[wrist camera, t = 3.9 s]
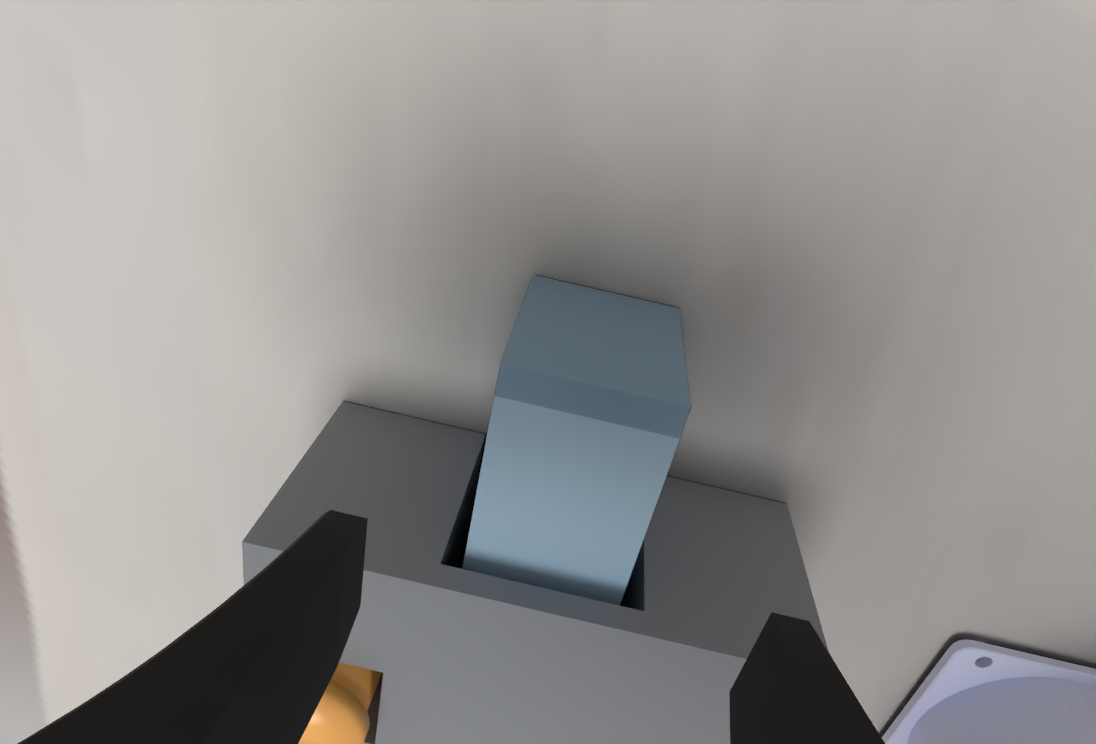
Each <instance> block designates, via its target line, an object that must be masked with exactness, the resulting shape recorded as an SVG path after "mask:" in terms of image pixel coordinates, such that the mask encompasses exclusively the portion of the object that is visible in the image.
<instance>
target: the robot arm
mask: <svg viewBox="0 0 1096 744" xmlns="http://www.w3.org/2000/svg"><path fill="white" fill-rule="evenodd" d="M367 522H368V518H364V517H359V516H355V515H351V514H346V513H342V512H338V511H334V510H329V511H328V512H326V513H324V514H323V515H322V516H321V517H320V518H319V519H317V520H316V521H315V522H314V523H313V524H312V525H311V526H310V527H309V528H308V529H307V530H306V531H305V532H304V533H303V534H302V535H301V536H300V537H299V538H297V539H296V540H295V541H294V542H293V543H292V544H291V545H290V546H289V547H288V548H287V549H286V550H284V551H283V552H282V553H281V554H280V555H279V556H278V557H277V558H275V559H274V560H273V561H272V562H271V563H270V564H269V565H268V566H266V567H265V568H264V569H263V570H262V571H261V572H259V573H258V574H257V575H256V576H255V577H254V578H252V579H251V580H250V581H249V582H248V583H246V584H245V585H244V586H243V587H242V588H240V589H239V590H238V591H237V592H236V593H234V594H233V595H232V596H231V597H230V598H228V599H227V600H226V601H225V602H224V603H222V604H221V605H220V606H219V607H217V608H216V609H215V610H214V611H212V612H211V613H210V614H209V615H207V616H206V617H205V618H203V619H202V620H201V621H199V622H198V623H197V624H195V625H194V626H193V627H191V628H190V629H189V630H188V631H186V632H185V633H184V634H182V635H181V636H180V637H178V638H177V639H176V640H174V641H173V642H172V643H171V644H169V645H168V646H167V647H165V648H164V649H162V650H161V651H160V652H158V653H157V654H156V655H154V656H153V657H151V658H150V659H149V660H147V661H146V662H144V663H143V664H141V665H140V666H139V667H137V668H136V669H134V670H133V671H131V672H130V673H129V674H127V675H126V676H124V677H123V678H121V679H120V680H118V681H117V682H115V683H114V684H112V685H111V686H109V687H108V688H106V689H105V690H103V691H102V692H100V693H99V694H97V695H96V696H94V697H93V698H91V699H89V700H88V701H86V702H85V703H83V704H82V705H80V706H78V707H77V708H75V709H74V710H72V711H70V712H69V713H67V714H65V715H64V716H62V717H61V718H59V719H57V720H56V721H54V722H52V723H51V724H49V725H48V726H46V727H44V728H43V729H41V730H39V731H38V732H36V733H35V734H33V735H31V736H30V737H28V738H26V739H25V740H23V741H21V742H19V743H18V744H298V743H299V741H300V739H301V737H302V735H303V733H304V731H305V729H306V728H307V726H308V724H309V722H310V720H311V718H312V716H313V714H314V712H315V710H316V708H317V706H318V704H319V702H320V700H321V698H322V696H323V694H324V692H325V690H326V688H327V686H328V684H329V682H330V680H331V678H332V676H333V674H334V672H335V670H336V668H337V666H338V663H339V661H340V658H341V656H342V653H343V651H344V648H345V646H346V643H347V640H348V638H349V635H350V633H351V630H352V627H353V625H354V622H355V619H356V617H357V614H358V611H359V609H360V606H361V594H362V582H363V570H364V558H365V546H366V534H367ZM729 694H730V744H1096V669H1094V668H1090V667H1085V666H1081V665H1077V664H1073V663H1068V662H1064V661H1060V660H1055V659H1051V658H1047V657H1042V656H1038V655H1034V654H1029V653H1025V652H1021V651H1017V650H1012V649H1008V648H1004V647H999V646H995V645H991V644H986V643H982V642H978V641H973V640H966V639H964V640H959V641H956V642H954V643H953V644H952V645H951V646H950V647H949V648H948V650H947V651H946V652H945V654H944V655H943V656H942V658H941V659H940V660H939V662H938V663H937V664H936V666H935V667H934V668H933V670H932V671H931V672H930V674H929V675H928V676H927V678H926V679H925V680H924V682H923V683H922V684H921V686H920V687H919V688H918V690H917V691H916V692H915V694H914V695H913V696H912V698H911V699H910V700H909V702H908V703H907V704H906V706H905V707H904V708H903V710H902V711H901V712H900V714H899V715H898V716H897V718H896V719H895V720H894V722H893V723H892V724H891V726H890V727H889V729H888V730H887V731H886V733H885V734H884V735H883V737H882V738H881V736H880V735H879V733H878V732H877V730H876V729H875V727H874V725H873V724H872V722H871V721H870V719H869V717H868V716H867V714H866V713H865V711H864V710H863V708H862V706H861V705H860V703H859V701H858V700H857V698H856V697H855V695H854V693H853V692H852V690H851V688H850V687H849V685H848V684H847V682H846V680H845V679H844V677H843V675H842V674H841V672H840V670H839V669H838V667H837V666H836V664H835V662H834V661H833V659H832V657H831V656H830V654H829V652H828V651H827V649H826V647H825V646H824V644H823V642H822V641H821V639H820V638H819V636H818V634H817V633H816V631H815V629H814V628H813V626H812V625H811V623H810V621H807V620H803V619H799V618H794V617H790V616H786V615H781V614H777V613H773V612H771V614H770V616H769V618H768V620H767V622H766V624H765V625H764V627H763V629H762V631H761V633H760V635H759V637H758V639H757V641H756V643H755V644H754V646H753V648H752V650H751V652H750V654H749V656H748V658H747V660H746V661H745V663H744V665H743V667H742V669H741V671H740V673H739V675H738V677H737V679H736V680H735V682H734V684H733V686H732V688H731V690H730V692H729Z"/></svg>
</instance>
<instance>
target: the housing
mask: <svg viewBox="0 0 1096 744" xmlns="http://www.w3.org/2000/svg"><path fill="white" fill-rule="evenodd" d="M484 439H485V434H483V433H478V432H474V431H470V430H465V429H461V428H457V427H452V426H448V425H444V424H439V423H435V422H431V421H426V420H422V419H418V418H413V417H409V416H405V415H400V414H396V413H392V412H388V411H383V410H379V409H375V408H370V407H366V406H362V405H357V404H353V403H349V402H344V401H343V402H342V404H341V405H340V406H339V408H338V409H337V411H336V412H335V413H334V415H333V416H332V418H331V419H330V420H329V422H328V423H327V424H326V426H325V427H324V429H323V430H322V431H321V433H320V434H319V436H318V437H317V438H316V440H315V441H314V443H313V444H312V445H311V447H310V448H309V449H308V451H307V452H306V454H305V455H304V456H303V458H302V459H301V461H300V462H299V463H298V465H297V466H296V468H295V469H294V470H293V472H292V473H291V475H290V476H289V477H288V479H287V480H286V481H285V483H284V484H283V486H282V487H281V488H280V490H279V491H278V493H277V494H276V495H275V497H274V498H273V500H272V501H271V502H270V504H269V505H268V507H267V508H266V509H265V511H264V512H263V513H262V515H261V516H260V518H259V519H258V520H257V522H256V523H255V525H254V526H253V527H252V529H251V530H250V532H249V533H248V534H247V536H246V537H245V539H244V540H243V541H242V548H243V573H244V585H245V584H246V583H248V582H249V581H250V580H251V579H252V578H254V577H255V576H256V575H257V574H258V573H259V572H261V571H262V570H263V569H264V568H265V567H266V566H268V565H269V564H270V563H271V562H272V561H273V560H274V559H275V558H277V557H278V556H279V555H280V554H281V553H282V552H283V551H284V550H286V549H287V548H288V547H289V546H290V545H291V544H292V543H293V542H294V541H295V540H296V539H297V538H299V537H300V536H301V535H302V534H303V533H304V532H305V531H306V530H307V529H308V528H309V527H310V526H311V525H312V524H313V523H314V522H315V521H316V520H317V519H319V518H320V517H321V516H322V515H323V514H324V513H326V512H328V511H329V510H334V511H338V512H342V513H346V514H351V515H355V516H359V517H364V518H368V522H367V534H366V546H365V558H364V570H363V582H362V594H361V606H360V609H359V611H358V614H357V617H356V619H355V622H354V625H353V627H352V630H351V633H350V635H349V638H348V640H347V643H346V646H345V648H344V651H343V653H342V656H341V658H340V661H339V662H340V663H344V664H348V665H353V666H357V667H361V668H365V669H370V670H374V671H378V672H382V674H381V676H380V679H379V682H378V684H377V687H376V690H375V692H374V695H373V698H372V700H371V703H370V705H369V708H368V711H367V713H368V716H369V720H370V725H369V730H368V732H367V735H366V738H365V741H364V743H363V744H730V694H729V692H730V690H731V688H732V686H733V684H734V682H735V680H736V679H737V677H738V675H739V673H740V671H741V669H742V667H743V665H744V663H745V661H746V660H747V658H748V656H749V654H750V652H751V650H752V648H753V646H754V644H755V643H756V641H757V639H758V637H759V635H760V633H761V631H762V629H763V627H764V625H765V624H766V622H767V620H768V618H769V616H770V614H771V612H773V613H777V614H781V615H786V616H790V617H794V618H799V619H803V620H807V621H810V623H811V625H812V626H813V628H814V629H815V631H816V633H817V634H818V636H819V638H820V639H821V641H822V642H823V644H824V646H825V647H826V649H827V645H826V642H825V638H824V634H823V631H822V627H821V624H820V620H819V617H818V613H817V610H816V606H815V603H814V599H813V596H812V592H811V588H810V585H809V581H808V578H807V574H806V571H805V567H804V564H803V560H802V557H801V553H800V549H799V546H798V542H797V539H796V535H795V532H794V528H793V525H792V521H791V518H790V514H789V511H788V507H787V504H785V503H781V502H777V501H772V500H768V499H764V498H759V497H755V496H751V495H746V494H742V493H738V492H733V491H729V490H725V489H720V488H716V487H712V486H707V485H703V484H699V483H694V482H690V481H686V480H681V479H677V478H673V477H669V476H666V479H665V481H664V484H663V487H662V490H661V492H660V495H659V498H658V501H657V504H656V506H655V509H654V512H653V515H652V517H651V520H650V523H649V526H648V528H647V531H646V534H645V537H644V540H643V542H642V545H641V548H640V551H639V553H638V556H637V559H636V562H635V564H634V567H633V570H632V573H631V576H630V578H629V581H628V584H627V587H626V589H625V592H624V595H623V598H622V601H621V603H620V606H619V605H615V604H611V603H606V602H602V601H598V600H594V599H589V598H585V597H581V596H576V595H572V594H568V593H563V592H559V591H555V590H551V589H546V588H542V587H538V586H533V585H529V584H525V583H520V582H516V581H512V580H508V579H503V578H499V577H495V576H490V575H486V574H482V573H477V572H473V571H469V570H465V569H461V564H462V559H463V553H464V548H465V542H466V537H467V532H468V526H469V521H470V515H471V510H472V504H473V499H474V493H475V488H476V482H477V477H478V472H479V466H480V461H481V455H482V450H483V444H484ZM827 651H828V649H827Z"/></svg>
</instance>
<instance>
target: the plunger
mask: <svg viewBox="0 0 1096 744" xmlns="http://www.w3.org/2000/svg"><path fill="white" fill-rule="evenodd" d="M381 674H382V672H378V671H374V670H370V669H365V668H361V667H357V666H353V665H348V664H344V663H340V662H339V663H338V666H337V668H336V670H335V672H334V674H333V676H332V678H331V680H330V682H329V684H328V686H327V688H326V690H325V692H324V694H323V696H322V698H321V700H320V702H319V704H318V706H317V708H316V710H315V712H314V714H313V716H312V718H311V720H310V722H309V724H308V726H307V728H306V729H305V731H304V733H303V735H302V737H301V739H300V741H299V743H298V744H363V743H364V741H365V738H366V735H367V732H368V730H369V725H370V720H369V716H368V713H367V711H368V708H369V705H370V703H371V700H372V698H373V695H374V692H375V690H376V687H377V684H378V682H379V679H380V676H381Z"/></svg>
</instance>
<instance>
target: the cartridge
mask: <svg viewBox="0 0 1096 744" xmlns="http://www.w3.org/2000/svg"><path fill="white" fill-rule="evenodd" d="M690 409H691V402H690V393H689V385H688V377H687V368H686V360H685V352H684V343H683V335H682V327H681V318H680V310H679V308H676V307H671V306H667V305H663V304H658V303H654V302H650V301H645V300H641V299H637V298H632V297H628V296H624V295H619V294H615V293H611V292H606V291H602V290H597V289H593V288H589V287H584V286H580V285H576V284H571V283H567V282H563V281H558V280H554V279H550V278H545V277H541V276H537V275H533V277H532V280H531V282H530V285H529V288H528V290H527V293H526V296H525V299H524V301H523V304H522V307H521V309H520V312H519V315H518V317H517V320H516V323H515V325H514V328H513V331H512V333H511V336H510V339H509V341H508V344H507V347H506V349H505V352H504V355H503V357H502V360H501V363H500V368H499V373H498V378H497V384H496V389H495V395H494V400H493V405H492V411H491V416H490V422H489V427H488V432H487V438H486V443H485V449H484V454H483V460H482V465H481V470H480V476H479V481H478V487H477V492H476V497H475V503H474V508H473V514H472V519H471V524H470V530H469V535H468V541H467V546H466V551H465V557H464V562H463V568H462V569H465V570H469V571H473V572H477V573H482V574H486V575H490V576H495V577H499V578H503V579H508V580H512V581H516V582H520V583H525V584H529V585H533V586H538V587H542V588H546V589H551V590H555V591H559V592H563V593H568V594H572V595H576V596H581V597H585V598H589V599H594V600H598V601H602V602H606V603H611V604H615V605H619V606H620V603H621V601H622V598H623V595H624V592H625V589H626V587H627V584H628V581H629V578H630V576H631V573H632V570H633V567H634V564H635V562H636V559H637V556H638V553H639V551H640V548H641V545H642V542H643V540H644V537H645V534H646V531H647V528H648V526H649V523H650V520H651V517H652V515H653V512H654V509H655V506H656V504H657V501H658V498H659V495H660V492H661V490H662V487H663V484H664V481H665V479H666V476H667V473H668V470H669V467H670V465H671V462H672V459H673V456H674V454H675V451H676V448H677V445H678V443H679V440H680V437H681V434H682V431H683V429H684V426H685V423H686V420H687V418H688V415H689V412H690Z"/></svg>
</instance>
